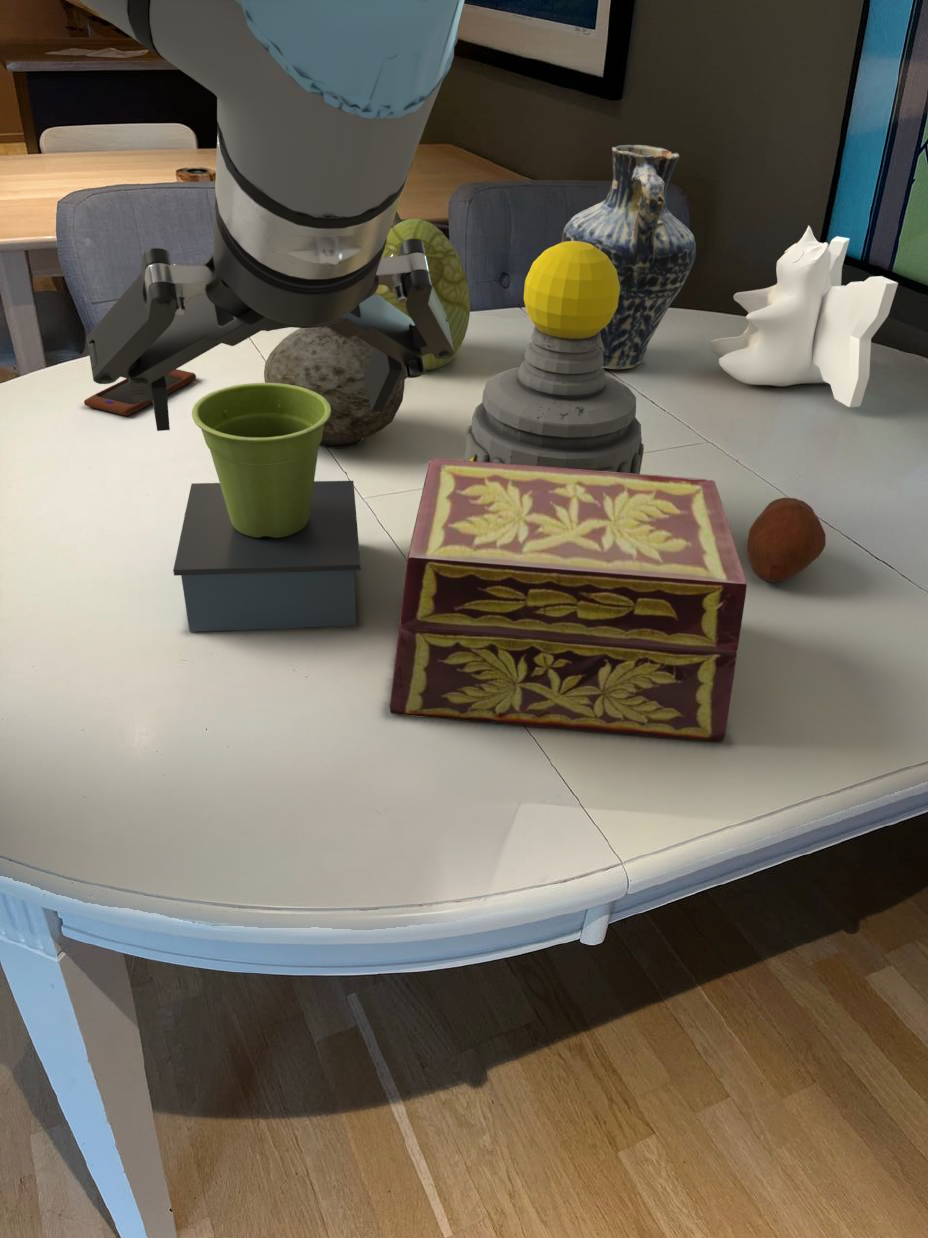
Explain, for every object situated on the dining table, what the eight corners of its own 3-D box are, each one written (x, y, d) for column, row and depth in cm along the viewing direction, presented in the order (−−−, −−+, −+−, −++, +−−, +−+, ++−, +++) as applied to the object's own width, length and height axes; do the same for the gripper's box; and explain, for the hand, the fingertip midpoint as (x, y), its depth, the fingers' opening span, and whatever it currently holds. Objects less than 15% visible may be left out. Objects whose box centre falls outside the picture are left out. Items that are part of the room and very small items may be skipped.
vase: (245, 450, 117) (221, 186, 99) (309, 399, 130) (298, 159, 113) (372, 476, 113) (370, 206, 95) (424, 421, 127) (431, 176, 109)
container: (183, 635, 86) (173, 570, 82) (199, 543, 99) (191, 483, 95) (361, 628, 88) (360, 564, 84) (354, 539, 101) (353, 480, 97)
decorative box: (695, 613, 93) (728, 474, 84) (725, 744, 78) (768, 591, 69) (414, 591, 94) (417, 450, 85) (388, 715, 78) (389, 560, 70)
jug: (536, 338, 155) (556, 133, 138) (649, 337, 158) (682, 137, 141) (570, 387, 138) (598, 162, 121) (696, 385, 142) (740, 165, 124)
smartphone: (81, 399, 124) (155, 363, 136) (83, 406, 125) (156, 369, 136) (126, 410, 122) (197, 372, 133) (127, 417, 123) (197, 378, 134)
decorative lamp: (437, 495, 110) (448, 220, 92) (586, 477, 115) (622, 214, 98) (495, 583, 95) (520, 276, 78) (661, 557, 101) (719, 266, 84)
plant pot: (181, 539, 86) (164, 423, 79) (244, 483, 95) (233, 374, 89) (301, 565, 83) (294, 447, 77) (354, 504, 93) (351, 394, 86)
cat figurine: (696, 347, 156) (723, 208, 143) (826, 355, 155) (865, 217, 143) (723, 408, 135) (758, 252, 123) (874, 417, 135) (923, 263, 123)
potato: (813, 547, 104) (833, 482, 100) (816, 604, 95) (839, 535, 91) (742, 535, 106) (759, 470, 101) (739, 590, 97) (757, 521, 92)
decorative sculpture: (412, 387, 136) (414, 240, 124) (337, 355, 144) (333, 215, 133) (489, 361, 146) (498, 223, 134) (414, 332, 154) (417, 200, 143)
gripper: (2, 303, 37) (71, 477, 57) (585, 275, 44) (464, 438, 64) (-23, 128, 38) (54, 359, 58) (552, 128, 45) (443, 334, 65)
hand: (270, 401), depth 61 cm, fingers open, 13 cm apart
